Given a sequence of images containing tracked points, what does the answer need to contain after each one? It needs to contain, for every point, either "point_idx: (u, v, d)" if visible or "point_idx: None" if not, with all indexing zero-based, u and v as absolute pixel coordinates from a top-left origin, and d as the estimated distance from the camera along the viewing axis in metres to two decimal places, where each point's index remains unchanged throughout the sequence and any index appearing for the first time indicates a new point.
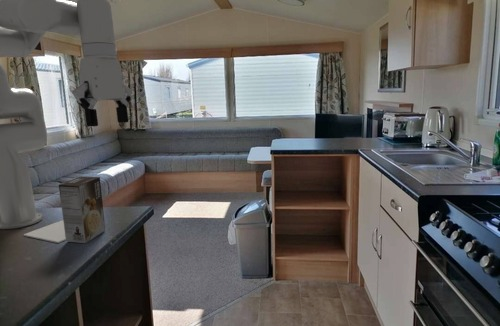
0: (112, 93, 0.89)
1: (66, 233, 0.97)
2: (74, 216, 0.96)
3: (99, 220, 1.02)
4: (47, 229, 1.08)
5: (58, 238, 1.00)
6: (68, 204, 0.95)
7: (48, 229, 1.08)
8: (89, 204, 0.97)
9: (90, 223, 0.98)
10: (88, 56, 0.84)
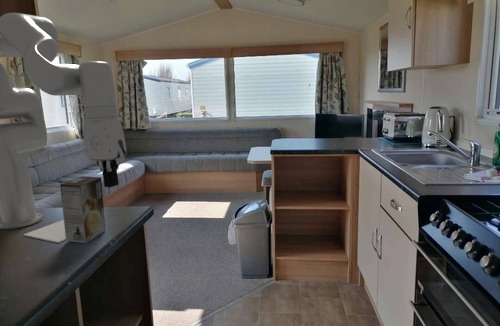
0: None
1: (66, 233, 0.97)
2: (74, 215, 0.96)
3: (100, 220, 1.02)
4: (47, 229, 1.08)
5: (58, 238, 1.00)
6: (69, 204, 0.95)
7: (48, 229, 1.08)
8: (89, 204, 0.97)
9: (90, 223, 0.98)
10: (114, 117, 0.89)
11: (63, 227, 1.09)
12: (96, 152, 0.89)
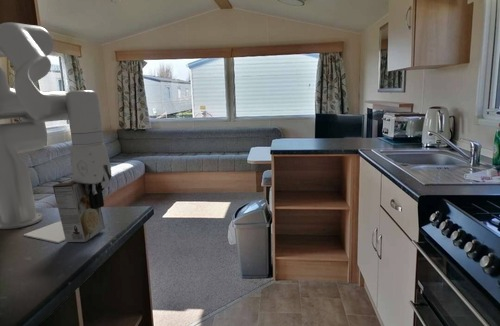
0: None
1: (65, 233, 0.97)
2: (71, 215, 0.96)
3: (98, 218, 1.02)
4: (47, 229, 1.08)
5: (58, 238, 1.00)
6: (64, 204, 0.95)
7: (48, 229, 1.08)
8: (84, 202, 0.97)
9: (88, 221, 0.98)
10: (99, 143, 0.93)
11: None
12: (82, 176, 0.93)
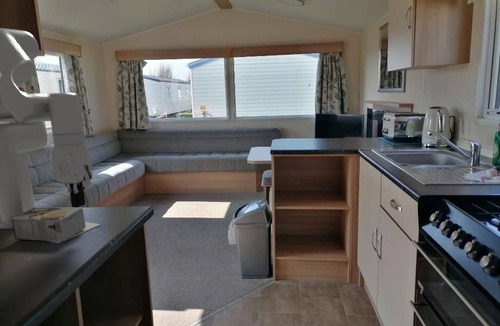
0: None
1: (57, 239, 0.98)
2: (38, 228, 0.99)
3: (65, 210, 1.04)
4: None
5: None
6: (29, 232, 1.00)
7: None
8: (36, 215, 1.01)
9: (52, 215, 1.00)
10: (80, 144, 0.96)
11: None
12: (64, 175, 0.96)
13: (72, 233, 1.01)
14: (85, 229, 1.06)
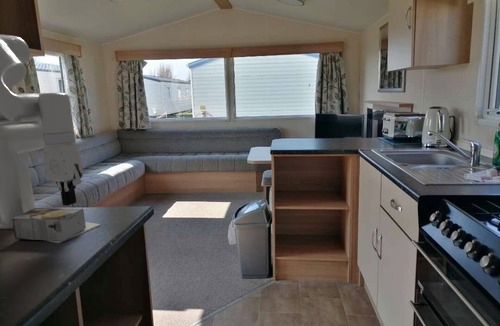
0: None
1: (57, 238, 0.98)
2: (39, 227, 0.99)
3: (66, 210, 1.04)
4: None
5: None
6: (30, 232, 1.00)
7: None
8: (37, 214, 1.02)
9: (53, 215, 1.00)
10: (70, 143, 0.98)
11: None
12: (54, 174, 0.98)
13: (72, 233, 1.01)
14: (85, 229, 1.06)
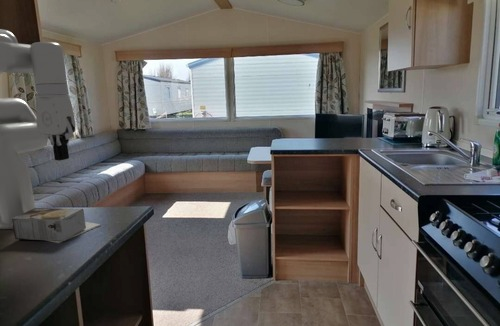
0: None
1: (57, 238, 0.98)
2: (39, 227, 0.99)
3: (66, 210, 1.04)
4: None
5: None
6: (30, 232, 1.00)
7: None
8: (37, 214, 1.02)
9: (53, 215, 1.00)
10: (63, 95, 0.95)
11: None
12: (46, 127, 0.96)
13: (72, 233, 1.01)
14: (85, 229, 1.06)
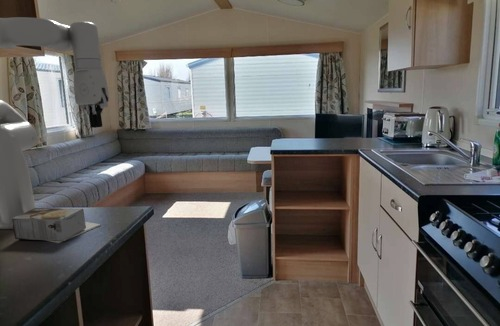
0: None
1: (57, 238, 0.98)
2: (39, 227, 0.99)
3: (66, 210, 1.04)
4: None
5: None
6: (30, 232, 1.00)
7: None
8: (37, 214, 1.02)
9: (53, 215, 1.00)
10: (98, 68, 1.08)
11: None
12: (83, 97, 1.09)
13: (72, 233, 1.01)
14: (85, 229, 1.06)
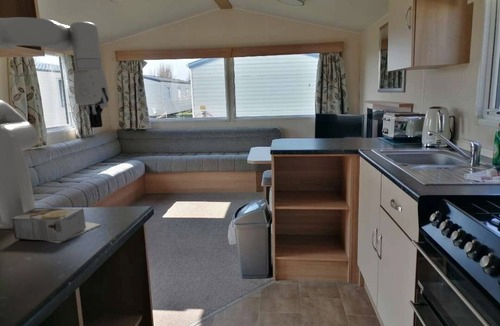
0: None
1: (57, 238, 0.98)
2: (39, 227, 0.99)
3: (66, 210, 1.04)
4: None
5: None
6: (30, 232, 1.00)
7: None
8: (37, 214, 1.02)
9: (53, 215, 1.00)
10: (98, 68, 1.08)
11: None
12: (84, 97, 1.09)
13: (72, 233, 1.01)
14: (85, 229, 1.06)
